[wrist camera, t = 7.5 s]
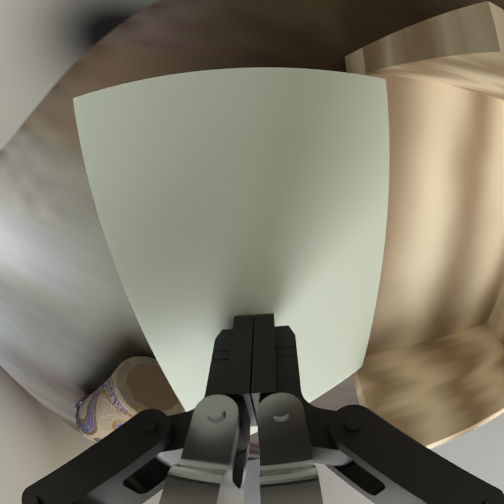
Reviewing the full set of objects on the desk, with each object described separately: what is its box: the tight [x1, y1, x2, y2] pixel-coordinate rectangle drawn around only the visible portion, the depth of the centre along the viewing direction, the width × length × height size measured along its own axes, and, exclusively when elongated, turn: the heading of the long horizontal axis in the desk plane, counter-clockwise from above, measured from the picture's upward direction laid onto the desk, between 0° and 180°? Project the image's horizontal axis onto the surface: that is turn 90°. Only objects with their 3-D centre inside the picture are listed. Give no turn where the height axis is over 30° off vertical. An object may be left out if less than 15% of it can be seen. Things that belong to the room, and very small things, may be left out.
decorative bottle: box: [76, 356, 184, 442], centre depth 26 cm, size 26×8×7 cm, turn 136°
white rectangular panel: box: [73, 67, 390, 435], centre depth 13 cm, size 2×18×12 cm
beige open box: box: [345, 1, 504, 449], centre depth 12 cm, size 16×22×12 cm
